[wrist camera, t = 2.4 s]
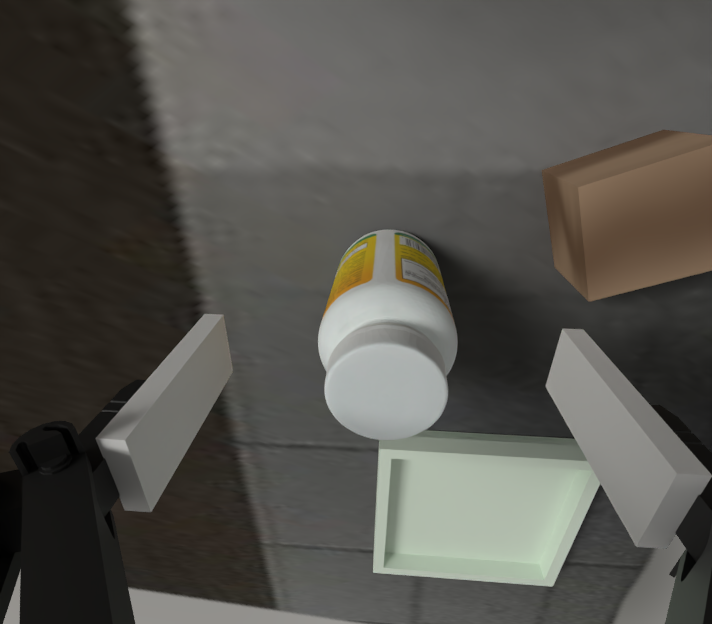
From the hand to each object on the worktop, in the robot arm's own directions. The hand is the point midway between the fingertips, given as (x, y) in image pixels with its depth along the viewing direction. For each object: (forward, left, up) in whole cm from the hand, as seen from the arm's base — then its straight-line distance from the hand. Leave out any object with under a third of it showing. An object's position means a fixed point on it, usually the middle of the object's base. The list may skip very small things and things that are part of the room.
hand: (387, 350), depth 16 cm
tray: (+18, +7, -6) cm, 20 cm away
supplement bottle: (0, 0, -7) cm, 7 cm away
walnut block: (-4, +10, -7) cm, 13 cm away
